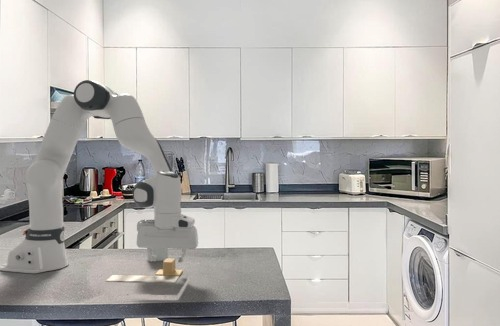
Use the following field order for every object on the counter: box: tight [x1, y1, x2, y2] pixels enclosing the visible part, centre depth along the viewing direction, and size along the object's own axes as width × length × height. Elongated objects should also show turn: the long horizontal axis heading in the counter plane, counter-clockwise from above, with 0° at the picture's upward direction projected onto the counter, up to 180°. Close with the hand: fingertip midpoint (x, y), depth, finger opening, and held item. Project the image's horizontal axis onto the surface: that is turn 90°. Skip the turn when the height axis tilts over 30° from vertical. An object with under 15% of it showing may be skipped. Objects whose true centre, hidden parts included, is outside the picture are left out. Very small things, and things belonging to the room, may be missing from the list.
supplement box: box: [146, 248, 169, 262], centre depth 174 cm, size 7×7×13 cm
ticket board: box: [105, 274, 180, 284], centre depth 152 cm, size 24×13×2 cm, turn 87°
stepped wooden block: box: [154, 257, 184, 277], centre depth 155 cm, size 8×6×5 cm
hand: (167, 261), depth 154 cm, fingers open, 8 cm apart
